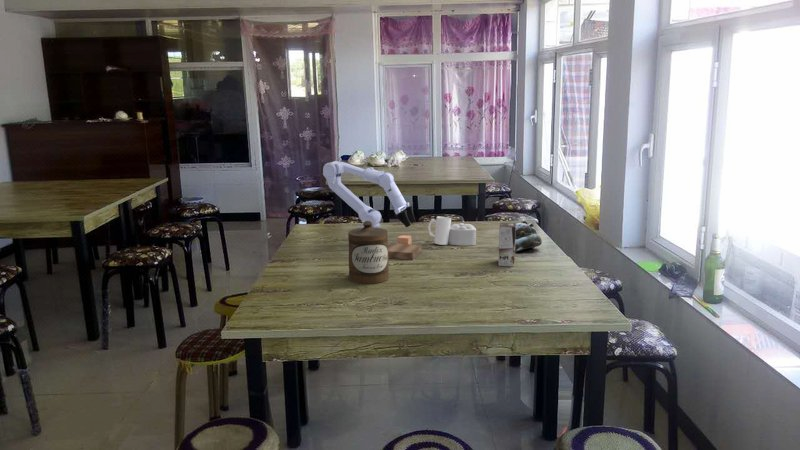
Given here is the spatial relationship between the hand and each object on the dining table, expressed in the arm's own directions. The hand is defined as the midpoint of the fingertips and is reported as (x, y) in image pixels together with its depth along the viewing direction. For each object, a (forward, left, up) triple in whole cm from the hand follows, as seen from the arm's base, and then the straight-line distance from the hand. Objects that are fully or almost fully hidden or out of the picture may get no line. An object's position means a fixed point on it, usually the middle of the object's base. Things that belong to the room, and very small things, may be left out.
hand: (411, 224), depth 285 cm
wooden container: (-1, -50, -11) cm, 51 cm away
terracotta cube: (-3, 0, -11) cm, 11 cm away
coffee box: (+45, -14, -11) cm, 48 cm away
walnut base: (0, -13, -11) cm, 17 cm away
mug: (+9, +10, -10) cm, 17 cm away
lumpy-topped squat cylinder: (+19, +15, -11) cm, 27 cm away
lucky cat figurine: (+48, +11, -11) cm, 50 cm away
